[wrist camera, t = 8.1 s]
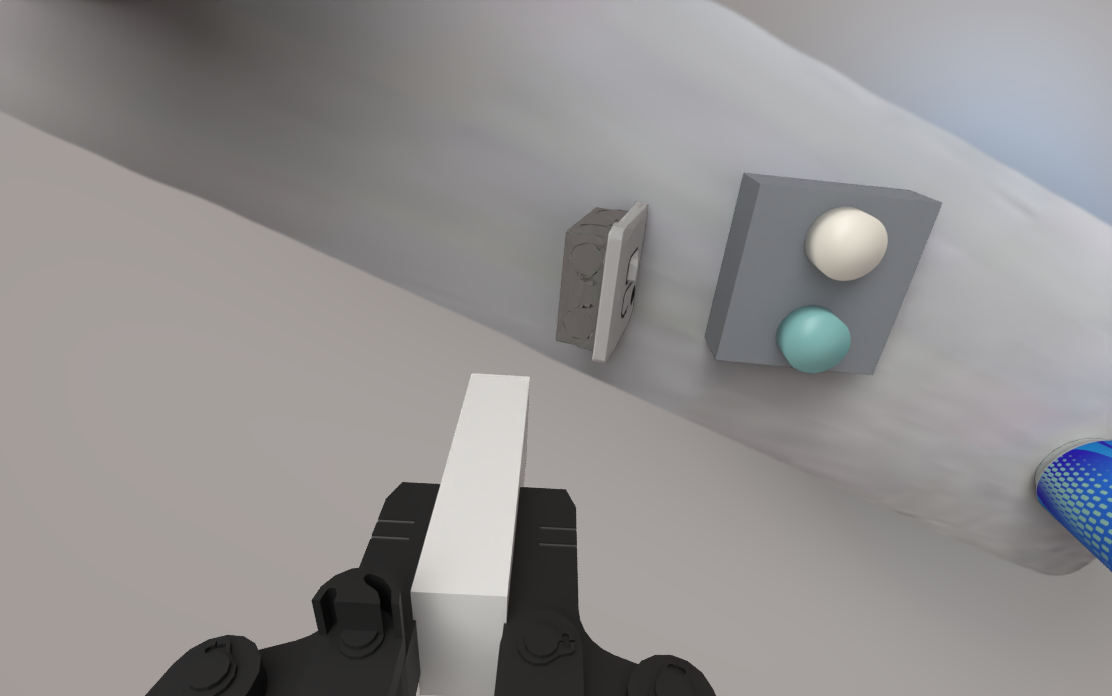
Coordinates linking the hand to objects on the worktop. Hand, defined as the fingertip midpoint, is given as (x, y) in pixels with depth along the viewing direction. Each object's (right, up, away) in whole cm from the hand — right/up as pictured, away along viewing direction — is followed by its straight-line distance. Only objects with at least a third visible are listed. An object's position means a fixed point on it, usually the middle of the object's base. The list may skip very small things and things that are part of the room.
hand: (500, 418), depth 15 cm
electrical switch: (+5, +9, +28) cm, 30 cm away
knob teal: (+20, +4, +29) cm, 35 cm away
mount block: (+20, +8, +28) cm, 36 cm away
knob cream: (+21, +11, +25) cm, 34 cm away
